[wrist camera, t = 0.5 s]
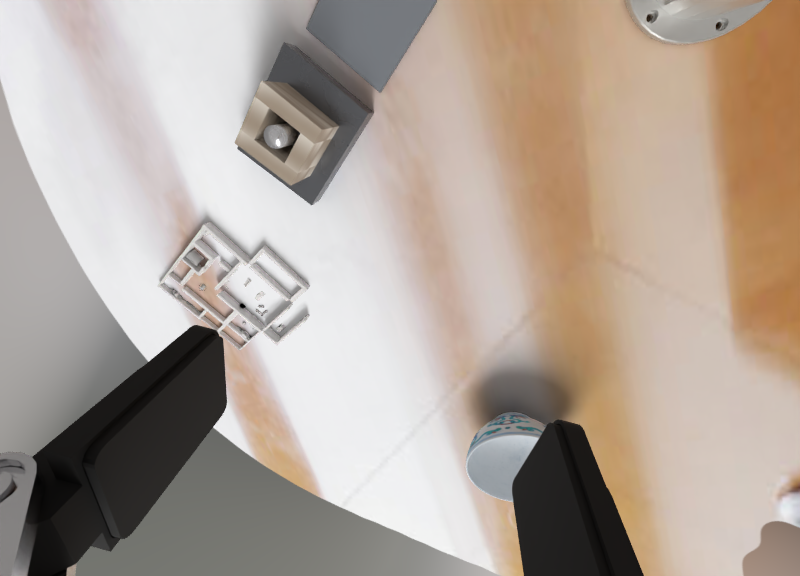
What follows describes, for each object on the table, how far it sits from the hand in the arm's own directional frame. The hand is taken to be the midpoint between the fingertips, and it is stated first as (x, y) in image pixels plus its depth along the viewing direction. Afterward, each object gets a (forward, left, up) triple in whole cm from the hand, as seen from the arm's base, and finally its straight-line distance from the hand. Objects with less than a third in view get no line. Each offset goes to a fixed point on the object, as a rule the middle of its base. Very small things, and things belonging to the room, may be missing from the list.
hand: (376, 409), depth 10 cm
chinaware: (+22, +34, -34) cm, 53 cm away
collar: (+5, -15, -31) cm, 35 cm away
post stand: (+5, -15, -33) cm, 37 cm away
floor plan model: (+28, -12, -34) cm, 46 cm away
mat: (-7, -15, -33) cm, 37 cm away
